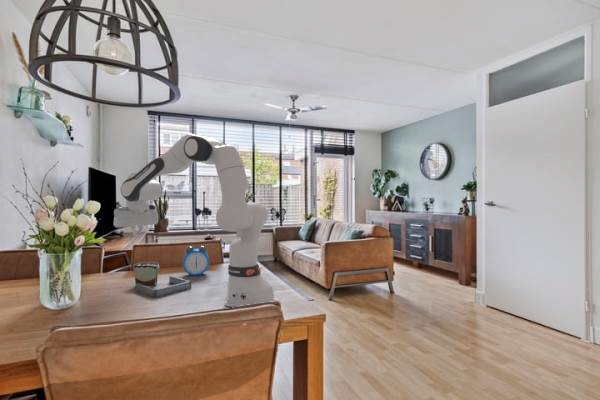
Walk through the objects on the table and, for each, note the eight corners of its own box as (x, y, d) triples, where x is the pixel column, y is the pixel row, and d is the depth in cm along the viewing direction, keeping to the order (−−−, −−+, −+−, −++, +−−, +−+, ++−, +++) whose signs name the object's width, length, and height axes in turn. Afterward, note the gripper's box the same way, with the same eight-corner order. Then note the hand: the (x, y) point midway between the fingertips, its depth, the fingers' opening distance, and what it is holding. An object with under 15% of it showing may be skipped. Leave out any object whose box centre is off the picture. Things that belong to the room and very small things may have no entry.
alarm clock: (182, 277, 161) (182, 247, 160) (183, 274, 167) (183, 245, 166) (209, 275, 165) (209, 246, 165) (209, 272, 171) (209, 244, 170)
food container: (165, 283, 150) (165, 262, 150) (158, 286, 144) (157, 264, 144) (140, 282, 152) (140, 261, 151) (132, 285, 146) (132, 264, 145)
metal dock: (191, 287, 143) (191, 281, 143) (155, 297, 129) (154, 290, 129) (171, 281, 152) (171, 275, 152) (135, 290, 138) (135, 283, 138)
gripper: (117, 207, 143) (117, 238, 144) (159, 206, 160) (160, 233, 160) (110, 207, 147) (111, 236, 147) (153, 205, 164) (153, 232, 164)
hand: (136, 235), depth 154 cm, fingers closed
